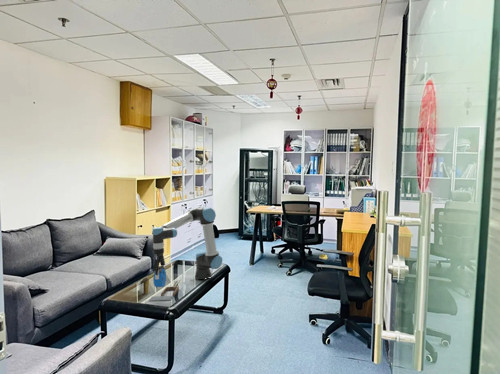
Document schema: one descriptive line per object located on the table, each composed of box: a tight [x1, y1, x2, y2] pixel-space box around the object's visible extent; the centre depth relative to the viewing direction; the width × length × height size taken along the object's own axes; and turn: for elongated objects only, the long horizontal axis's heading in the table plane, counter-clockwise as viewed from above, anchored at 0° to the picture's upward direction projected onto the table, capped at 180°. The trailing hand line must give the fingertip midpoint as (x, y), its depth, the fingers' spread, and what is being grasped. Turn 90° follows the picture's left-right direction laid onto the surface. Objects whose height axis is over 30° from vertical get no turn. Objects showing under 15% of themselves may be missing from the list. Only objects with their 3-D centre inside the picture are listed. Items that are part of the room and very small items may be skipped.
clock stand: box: [160, 286, 180, 297], centre depth 262 cm, size 10×15×2 cm, turn 178°
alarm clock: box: [152, 265, 167, 289], centre depth 250 cm, size 13×6×15 cm, turn 179°
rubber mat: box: [148, 295, 174, 302], centre depth 250 cm, size 16×8×1 cm, turn 88°
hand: (159, 276), depth 250 cm, fingers closed on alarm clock, 13 cm apart
